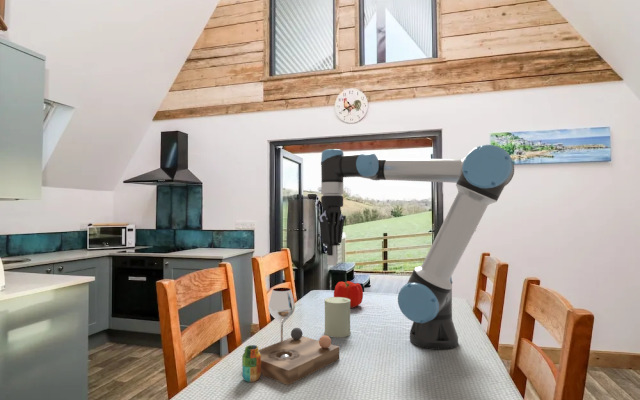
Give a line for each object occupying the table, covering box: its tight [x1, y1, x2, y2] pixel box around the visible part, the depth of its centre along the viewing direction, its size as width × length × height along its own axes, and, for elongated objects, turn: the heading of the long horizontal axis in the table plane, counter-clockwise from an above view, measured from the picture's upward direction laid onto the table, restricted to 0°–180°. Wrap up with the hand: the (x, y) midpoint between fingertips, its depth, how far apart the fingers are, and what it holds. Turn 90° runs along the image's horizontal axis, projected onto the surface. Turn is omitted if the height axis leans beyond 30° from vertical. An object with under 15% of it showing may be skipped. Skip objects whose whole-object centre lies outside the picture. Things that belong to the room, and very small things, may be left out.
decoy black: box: [290, 327, 303, 340], centre depth 114 cm, size 4×4×4 cm
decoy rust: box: [318, 334, 332, 348], centre depth 107 cm, size 4×4×4 cm
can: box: [323, 296, 351, 339], centre depth 132 cm, size 9×9×12 cm
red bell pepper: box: [333, 280, 364, 309], centre depth 169 cm, size 14×13×10 cm
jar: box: [241, 344, 261, 383], centre depth 95 cm, size 5×5×8 cm
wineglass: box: [268, 287, 296, 342], centre depth 118 cm, size 8×8×18 cm
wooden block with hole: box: [259, 335, 340, 386], centre depth 105 cm, size 16×21×4 cm
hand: (332, 264), depth 128 cm, fingers closed
